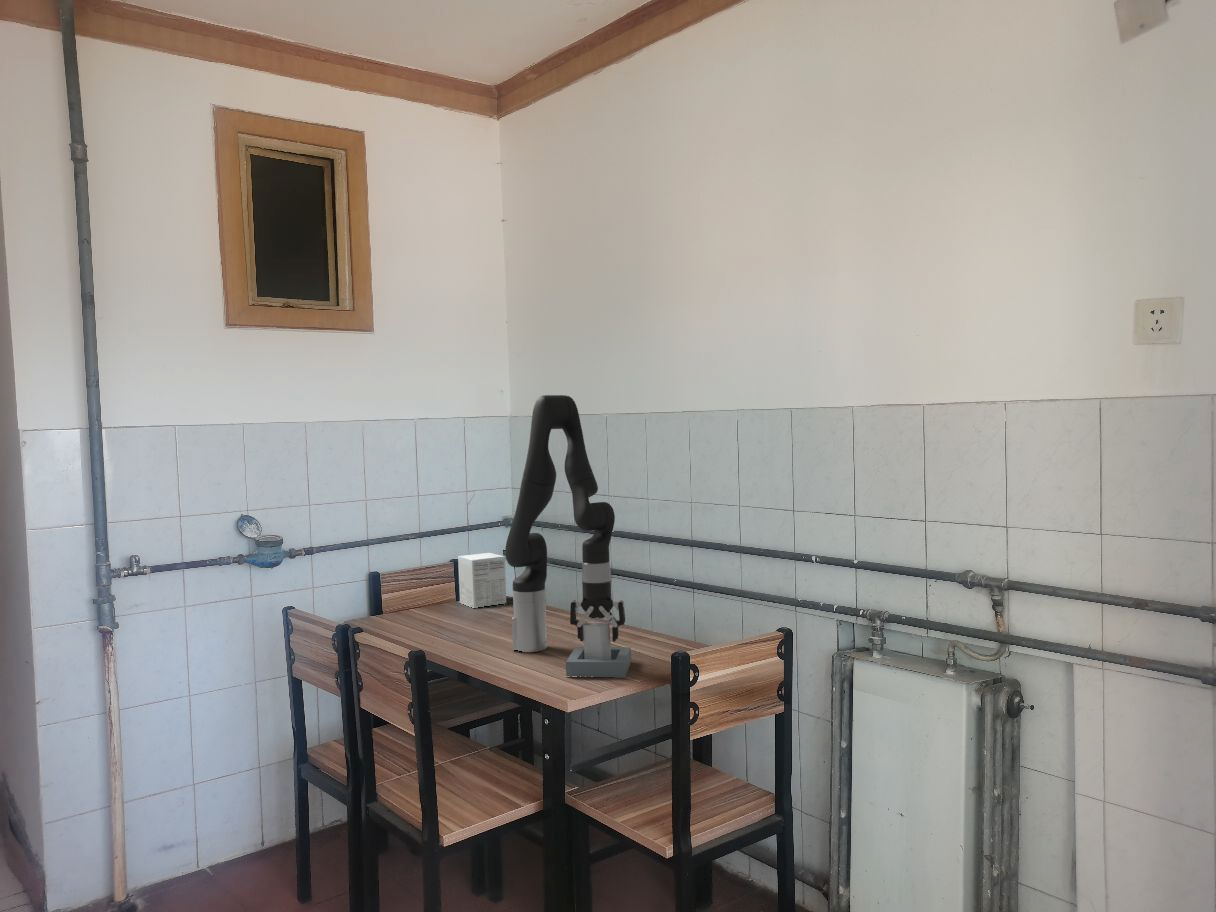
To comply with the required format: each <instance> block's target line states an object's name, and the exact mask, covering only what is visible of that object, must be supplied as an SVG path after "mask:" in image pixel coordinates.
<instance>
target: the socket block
mask: <svg viewBox="0 0 1216 912" xmlns="http://www.w3.org/2000/svg"><path fill="white" fill-rule="evenodd" d="M631 664H632V647H631V646H624V647H623V646H622V647H621V646H611V659H585V655H584V646H575V647H574V649H573V650H572V651H571V653H570V654H569V656H568V658H567V659H566V661H565V677H566V676H570V677H569V678H572V676H577V677H580V676H581V677H585V676H586V677H591V676H593V677H614V678H613V679H624V678H626V676H627V673H628V671H629V669H630V666H631Z"/></svg>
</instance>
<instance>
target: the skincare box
mask: <svg viewBox="0 0 1216 912" xmlns="http://www.w3.org/2000/svg"><path fill="white" fill-rule="evenodd" d="M610 628H611V627H610V623H606V622H600V621H599V622H597V621H593V620H592V621H588V622H586V623H583V638H584V640H583V647H584V655H585V659H611V647H612V646H611V645H612V644H611V629H610Z"/></svg>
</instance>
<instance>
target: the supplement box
mask: <svg viewBox="0 0 1216 912" xmlns="http://www.w3.org/2000/svg"><path fill="white" fill-rule="evenodd" d="M457 563H458V564H457V565H458V585H459V589H458V590H459V604H460V603H461V604H460V605H463V604H464V605H463V606H465V605H466V607H468V606H469V608H471V607H472V608H471V609H473V608H476V609H479V608H478V607H483V608H485V607H484V606H490V605H497V606H499V605H498V604H504V603H506V604H507V583H506V579H507V578H506V555H500V554H496V553H492V552H485V553H473V554H466V555H458V556H457ZM504 605H505V604H504ZM490 607H491V606H490Z"/></svg>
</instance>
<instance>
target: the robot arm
mask: <svg viewBox="0 0 1216 912" xmlns="http://www.w3.org/2000/svg"><path fill="white" fill-rule="evenodd" d="M530 425H531V426H530V434H529V443H528V449H527V455H526V460H525V465H524V469H523V474H522V478H521V483H520V489H519V496H518V500H517V503H516V504H517V505H516V509H515V511H514V516H513V520H512V523H511V526H510V529H509V532H508V536H507V539H506V543H505V548H504V549H505V555H504V556H505V561H507V564H508V565H509V566H511V567H512V568H523V567H525V569H524V571H523V572H522V573H521V574H520V575H518V576H517V577H516V578H515V579H513V581H512V602H513V605H512V607H513V617H512V618H511V625H512V626H511V627H512V628H511V630H512V631H511V632H512V634H511V635H512V651H513V650H518V651H517V652H519V651H522V653H535V652H542V651H545V650H546V649H548V639H547V638H548V635H547V613H546V612H547V610H546V606H547V605H546V581H547V576H548V547H547V542H546V540H545V537H544V536H543V535H542V534H541V533H539V532H531V530H532V527H533V525H534V523H535V522H536V521H537V519H538V518H539V516H540V515H541V514H542V512H543V511H544V510H545V509H546V508H547V506H548V504H549V503H550V501H551V500H552V497H553V494H554V490H555V485H556V480H557V470H556V466H555V464H554V461H553V459H552V457H551V454H550V449H549V442H550V435H551V432H552V430H562V431H563V433H564V435H565V438H566V441H567V447H566V449H567V450H566V453H565V458H564V459H565V460H564V472H565V477H566V480H567V482H568V483H567V484H568V486H569V488H570V491H571V495H572V506H573V507H572V508H573V518H574V522H575V524H576V526H577V527H578V528H579V529H580V530H582V531H584V532H589V531H590V532H591V531H594V532H593V535H592V536H591V537H590V538H589V537H588V538H587V539H585V540H584V541H583V543H582V545H581V547H582V548H581V551H582V552H581V553H582V556H581V557H582V567H581V582H582V583H581V584H582V586H581V587H582V600H581V601H577V600H575V599H574V600H572V601H571V602H570V613H569V617H570V618H569V623H570V625H572V626H575V627H577V628H576V629H577V638H578V640H579V641H580V642H584V638H583V624H585V622H586V620H587V619H588V618H590V619H604V618H605V619H606V620H607V621H608V622H610V623H609V624H611V625H612V628H611V631H612V632H611V634H612V638H611V639H612V642H613V643H615V642H617V640H618V638H619V635H620V633H619V627H620V626H623V625H624V624H625V623H626V613H625V611H626V610H625V602H624V600H619V601H613V599H612V571H611V570H612V569H611V564H610V543H611V540H612V534H613V531H614V528H615V521H616V520H615V519H616V516H615V510H614V508H613V506H612V505H611V504H610V503H609V502H605V501H599V502H598V501H597V502H590V499H589V498H591V497H593V496H594V495H596V494H597V492H598V491H599V485H598V482H597V480H596V478H595V475H594V472H593V469H592V466H591V464H590V461H589V457H588V454H587V449H586V445H585V438H584V434H583V433H584V432H583V429H582V423H581V418H580V414H579V410H578V407H577V404H576V402H575V400H574V399H573V398H572V397H571V396H569V395H563V394H562V395H561V394H559V395H557V394H554V395H553V394H551V395H550V394H546V395H543V394H542V395H541V396H539V397H538V398H537V399H536V400H535V403H534V405H533V409H532V415H531V424H530ZM580 607H581V609H582V610H583V612H584V614H583V615H582V617H581V618H580V619H577V611H578V610H579V608H580ZM613 607H615V609H616V611H618V619H617V618H616V617H615V615H614V614H613V612H612V611H611V610H612V609H613Z"/></svg>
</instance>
